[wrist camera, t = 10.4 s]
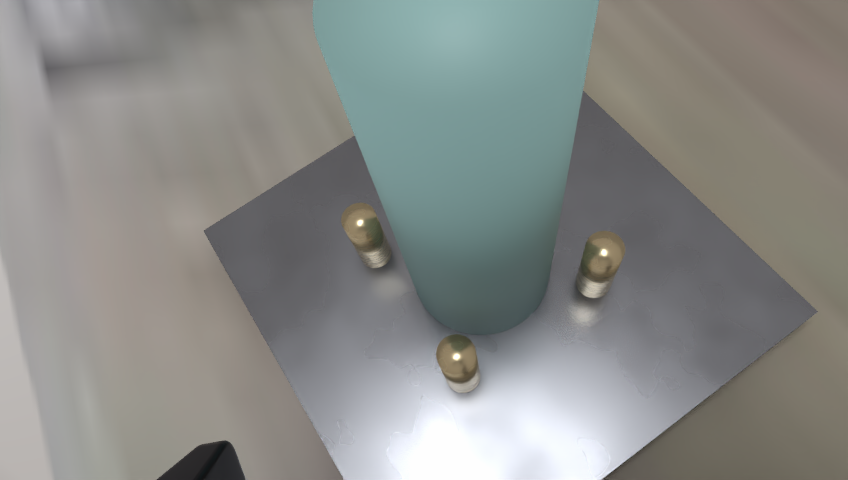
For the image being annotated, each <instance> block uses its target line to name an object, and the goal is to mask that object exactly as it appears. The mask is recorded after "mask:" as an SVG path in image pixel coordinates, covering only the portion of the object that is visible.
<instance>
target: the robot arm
mask: <svg viewBox="0 0 848 480" xmlns="http://www.w3.org/2000/svg"><path fill="white" fill-rule="evenodd" d="M157 480H246V479H245V476H244V473H243V471H242V468H241V465H240V463H239V460H238V457H237V454H236V452H235V449H234V447H233V446H232V444H231V443H230V442H228V441H219V442H213V443H207V444H202V445H199V446H197V447H196V448H195V449H194V450H192V451H191V452H190V453H189V454H187V455H186V456H185V457H184V458H183V459H181V460H180V461H179V462H178V463H176V464H175V465H174V466H173V467H172V468H170V469H169V470H168V471H167V472H165V473H164V474H163V475H162V476H161V477H159V478H158V479H157Z"/></svg>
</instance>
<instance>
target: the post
mask: <svg viewBox="0 0 848 480" xmlns="http://www.w3.org/2000/svg"><path fill="white" fill-rule="evenodd" d="M598 3H599V0H314V2H313V26H314V30H315V34H316V38H317V41H318V44H319V46H320V49H321V51H322V54H323V56H324V59H325V61H326V64H327V66H328V69H329V71H330V74H331V76H332V79H333V82H334V84H335V87H336V89H337V92H338V94H339V97H340V99H341V102H342V104H343V107H344V109H345V112H346V114H347V117H348V120H349V122H350V125H351V127H352V130H353V132H354V135H355V137H356V140H357V142H358V145H359V147H360V150H361V152H362V155H363V158H364V160H365V163H366V165H367V168H368V170H369V173H370V175H371V178H372V180H373V183H374V185H375V188H376V190H377V193H378V195H379V198H380V201H381V203H382V206H383V208H384V211H385V213H386V216H387V218H388V221H389V223H390V226H391V228H392V231H393V233H394V236H395V239H396V241H397V244H398V246H399V249H400V251H401V254H402V256H403V259H404V261H405V264H406V266H407V269H408V271H409V274H410V277H411V279H412V282H413V284H414V287H415V289H416V292H417V294H418V296H419V299H420V301H421V302H422V304H423V305H424V307H425V308H426V309H427V311H428V312H429V313H430V314H431V315H432V316H433V317H434V318H435V319H436V320H438V321H439V322H441V323H442V324H443V325H445V326H447V327H449V328H451V329H453V330H456V331H459V332H462V333H467V334H474V335H489V334H494V333H499V332H502V331H506V330H508V329H510V328H513V327H515V326H516V325H518V324H520V323H521V322H523V321H524V320H525V319H527V318H528V317H529V316H530V315H531V314H532V313H533V312H534V311H535V310H536V308H537V307H538V306H539V304H540V303H541V301H542V299H543V297H544V295H545V293H546V290H547V287H548V282H549V277H550V271H551V265H552V260H553V254H554V249H555V243H556V237H557V232H558V226H559V221H560V215H561V210H562V204H563V198H564V193H565V187H566V182H567V176H568V171H569V165H570V159H571V154H572V148H573V143H574V137H575V132H576V126H577V120H578V115H579V109H580V104H581V98H582V93H583V87H584V81H585V76H586V70H587V65H588V59H589V54H590V48H591V42H592V37H593V31H594V26H595V20H596V14H597V9H598Z"/></svg>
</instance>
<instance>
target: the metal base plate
mask: <svg viewBox="0 0 848 480" xmlns="http://www.w3.org/2000/svg"><path fill="white" fill-rule="evenodd" d="M204 232H205V234H206V236H207V238H208V240H209V241H210V243H211V245H212V247H213V248H214V250H215V252H216V254H217V256H218V257H219V259H220V261H221V263H222V264H223V266H224V268H225V270H226V271H227V273H228V275H229V277H230V279H231V280H232V282H233V284H234V286H235V287H236V289H237V291H238V293H239V294H240V296H241V298H242V300H243V302H244V303H245V305H246V307H247V309H248V310H249V312H250V314H251V316H252V317H253V319H254V321H255V323H256V325H257V326H258V328H259V330H260V332H261V333H262V335H263V337H264V339H265V340H266V342H267V344H268V346H269V348H270V349H271V351H272V353H273V355H274V356H275V358H276V360H277V362H278V364H279V365H280V367H281V369H282V371H283V372H284V374H285V376H286V378H287V379H288V381H289V383H290V385H291V387H292V388H293V390H294V392H295V394H296V395H297V397H298V399H299V401H300V402H301V404H302V406H303V408H304V410H305V411H306V413H307V415H308V417H309V418H310V420H311V422H312V424H313V425H314V427H315V429H316V431H317V433H318V434H319V436H320V438H321V440H322V441H323V443H324V445H325V447H326V448H327V450H328V452H329V454H330V456H331V457H332V459H333V461H334V463H335V464H336V466H337V468H338V470H339V472H340V473H341V475H342V477H343V479H344V480H601V479H603V478H604V477H605V476H607V475H608V474H609V473H611V472H612V471H613V470H614V469H616V468H617V467H618V466H620V465H621V464H622V463H623V462H625V461H626V460H627V459H629V458H630V457H631V456H632V455H634V454H635V453H636V452H638V451H639V450H640V449H641V448H643V447H644V446H645V445H647V444H648V443H649V442H650V441H652V440H653V439H654V438H656V437H657V436H658V435H660V434H661V433H662V432H663V431H665V430H666V429H667V428H669V427H670V426H671V425H672V424H674V423H675V422H676V421H678V420H679V419H680V418H681V417H683V416H684V415H685V414H687V413H688V412H689V411H690V410H692V409H693V408H694V407H696V406H697V405H698V404H699V403H701V402H702V401H703V400H705V399H706V398H707V397H709V396H710V395H711V394H712V393H714V392H715V391H716V390H718V389H719V388H720V387H721V386H723V385H724V384H725V383H727V382H728V381H729V380H730V379H732V378H733V377H734V376H736V375H737V374H738V373H739V372H741V371H742V370H743V369H745V368H746V367H747V366H748V365H750V364H751V363H752V362H754V361H755V360H756V359H757V358H759V357H760V356H761V355H763V354H764V353H765V352H767V351H768V350H769V349H770V348H772V347H773V346H774V345H776V344H777V343H778V342H779V341H781V340H782V339H783V338H785V337H786V336H787V335H788V334H790V333H791V332H792V331H794V330H795V329H796V328H797V327H799V326H800V325H801V324H803V323H804V322H805V321H806V320H808V319H809V318H810V317H812V316H813V315H814V314H816V313H817V312H818V311H817V310H816V309H814V308H813V307H812V306H811V305H810V304H809V303H808V302H807V301H806V300H805V299H804V298H803V297H802V296H801V295H800V294H799V293H797V292H796V291H795V290H794V289H793V288H792V287H791V286H790V285H789V284H788V283H787V282H786V281H785V280H784V279H783V278H782V277H780V276H779V275H778V274H777V273H776V272H775V271H774V270H773V269H772V268H771V267H770V266H769V265H768V264H767V263H766V262H765V261H763V260H762V259H761V258H760V257H759V256H758V255H757V254H756V253H755V252H754V251H753V250H752V249H751V248H750V247H749V246H748V245H746V244H745V243H744V242H743V241H742V240H741V239H740V238H739V237H738V236H737V235H736V234H735V233H734V232H733V231H732V230H731V229H729V228H728V227H727V226H726V225H725V224H724V223H723V222H722V221H721V220H720V219H719V218H718V217H717V216H716V215H715V214H714V213H712V212H711V211H710V210H709V209H708V208H707V207H706V206H705V205H704V204H703V203H702V202H701V201H700V200H699V199H698V198H697V197H695V196H694V195H693V194H692V193H691V192H690V191H689V190H688V189H687V188H686V187H685V186H684V185H683V184H682V183H681V182H680V181H678V180H677V179H676V178H675V177H674V176H673V175H672V174H671V173H670V172H669V171H668V170H667V169H666V168H665V167H664V166H663V165H661V164H660V163H659V162H658V161H657V160H656V159H655V158H654V157H653V156H652V155H651V154H650V153H649V152H648V151H647V150H646V149H644V148H643V147H642V146H641V145H640V144H639V143H638V142H637V141H636V140H635V139H634V138H633V137H632V136H631V135H630V134H629V133H627V132H626V131H625V130H624V129H623V128H622V127H621V126H620V125H619V124H618V123H617V122H616V121H615V120H614V119H613V118H612V117H610V116H609V115H608V114H607V113H606V112H605V111H604V110H603V109H602V108H601V107H600V106H599V105H598V104H597V103H596V102H594V101H593V100H592V99H591V98H590V97H589V96H588V95H587V94H586V93H585V92H584V91H583V93H582V98H581V104H580V109H579V115H578V120H577V126H576V132H575V137H574V143H573V148H572V154H571V159H570V165H569V171H568V176H567V182H566V187H565V193H564V198H563V204H562V210H561V215H560V221H559V226H558V232H557V237H556V243H555V249H554V254H553V260H552V265H551V271H550V277H549V282H548V287H547V290H546V293H545V295H544V297H543V299H542V301H541V303H540V304H539V306H538V307H537V308H536V310H535V311H534V312H533V313H532V314H531V315H530V316H529V317H528V318H527V319H525V320H524V321H523V322H521V323H520V324H518V325H516V326H515V327H513V328H510V329H508V330H506V331H502V332H499V333H494V334H489V335H474V334H467V333H462V332H459V331H456V330H453V329H451V328H449V327H447V326H445V325H443V324H442V323H441V322H439V321H438V320H436V319H435V318H434V317H433V316H432V315H431V314H430V313H429V312H428V311H427V309H426V308H425V307H424V305H423V304H422V302H421V301H420V299H419V296H418V294H417V292H416V289H415V287H414V284H413V282H412V279H411V277H410V274H409V271H408V269H407V266H406V264H405V261H404V259H403V256H402V254H401V251H400V249H399V246H398V244H397V241H396V239H395V236H394V233H393V231H392V228H391V226H390V223H389V221H388V218H387V216H386V213H385V211H384V208H383V206H382V203H381V201H380V198H379V195H378V193H377V190H376V188H375V185H374V183H373V180H372V178H371V175H370V173H369V170H368V168H367V165H366V163H365V160H364V158H363V155H362V152H361V150H360V147H359V145H358V142H357V140H356V137H355V136H353V137H352V138H350V139H348V140H347V141H345V142H344V143H342V144H341V145H339V146H337V147H336V148H334V149H333V150H331V151H329V152H328V153H326V154H325V155H323V156H321V157H320V158H318V159H317V160H315V161H314V162H312V163H310V164H309V165H307V166H306V167H304V168H302V169H301V170H299V171H298V172H296V173H294V174H293V175H291V176H290V177H288V178H287V179H285V180H283V181H282V182H280V183H279V184H277V185H275V186H274V187H272V188H271V189H269V190H267V191H266V192H264V193H263V194H261V195H260V196H258V197H256V198H255V199H253V200H252V201H250V202H248V203H247V204H245V205H244V206H242V207H240V208H239V209H237V210H236V211H234V212H233V213H231V214H229V215H228V216H226V217H225V218H223V219H221V220H220V221H218V222H217V223H215V224H213V225H212V226H210V227H209V228H207V229H206V230H204Z"/></svg>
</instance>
